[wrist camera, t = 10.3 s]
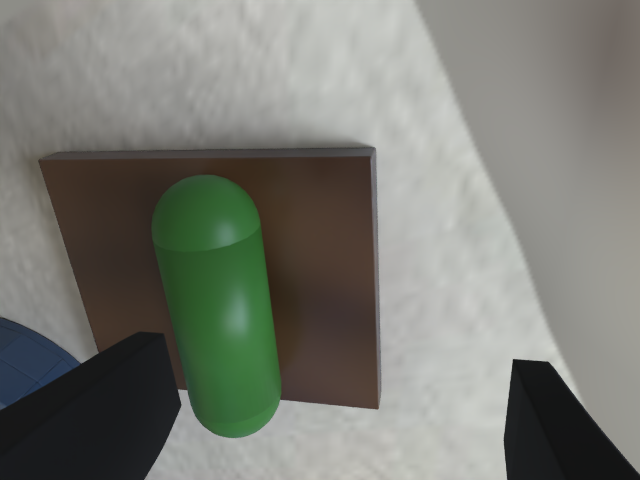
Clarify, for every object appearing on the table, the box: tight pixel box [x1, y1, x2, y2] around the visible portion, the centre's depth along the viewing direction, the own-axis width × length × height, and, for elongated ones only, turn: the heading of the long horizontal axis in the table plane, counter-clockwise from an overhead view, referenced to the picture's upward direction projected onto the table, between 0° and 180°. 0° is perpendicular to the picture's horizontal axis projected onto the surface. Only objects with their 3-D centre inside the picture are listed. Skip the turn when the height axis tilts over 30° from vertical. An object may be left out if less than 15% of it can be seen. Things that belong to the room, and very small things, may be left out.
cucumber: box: [151, 175, 281, 438], centre depth 18 cm, size 11×4×4 cm
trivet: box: [39, 147, 381, 409], centre depth 21 cm, size 11×13×1 cm
